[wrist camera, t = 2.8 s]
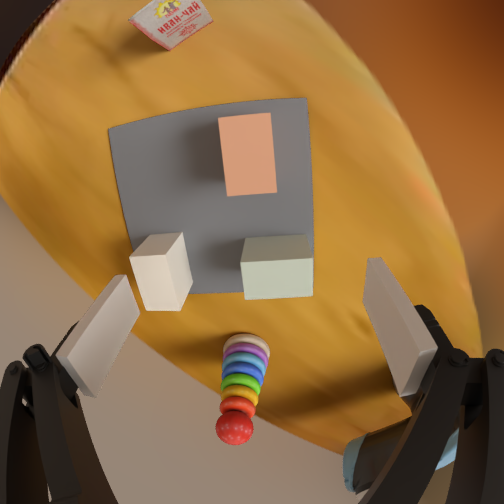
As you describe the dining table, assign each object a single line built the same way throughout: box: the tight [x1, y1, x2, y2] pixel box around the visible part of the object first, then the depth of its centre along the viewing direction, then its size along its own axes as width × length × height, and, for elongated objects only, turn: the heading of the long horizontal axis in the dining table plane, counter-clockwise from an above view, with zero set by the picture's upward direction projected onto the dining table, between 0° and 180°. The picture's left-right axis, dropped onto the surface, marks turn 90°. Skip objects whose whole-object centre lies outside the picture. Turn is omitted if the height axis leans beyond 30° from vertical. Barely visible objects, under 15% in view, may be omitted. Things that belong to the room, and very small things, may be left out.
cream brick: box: [129, 232, 193, 311], centre depth 36 cm, size 8×5×7 cm, turn 5°
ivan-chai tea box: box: [128, 0, 213, 51], centre depth 21 cm, size 4×7×10 cm, turn 123°
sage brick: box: [240, 234, 313, 300], centre depth 35 cm, size 8×5×7 cm, turn 95°
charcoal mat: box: [108, 98, 314, 294], centre depth 36 cm, size 26×26×1 cm
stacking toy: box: [216, 334, 270, 445], centre depth 38 cm, size 8×8×19 cm
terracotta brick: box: [218, 113, 277, 196], centre depth 29 cm, size 8×5×7 cm, turn 5°
